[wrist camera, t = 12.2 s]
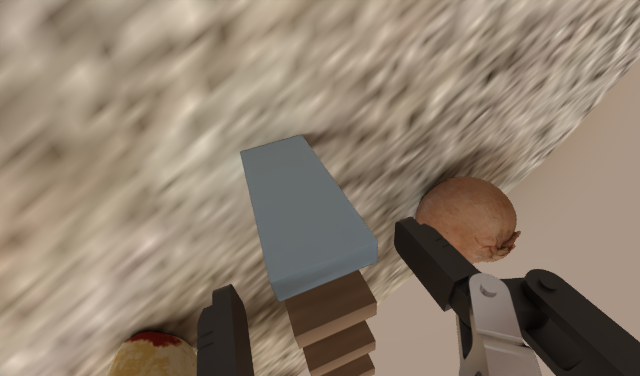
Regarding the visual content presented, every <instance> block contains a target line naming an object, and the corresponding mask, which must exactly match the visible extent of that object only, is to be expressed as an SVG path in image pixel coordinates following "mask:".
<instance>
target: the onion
mask: <svg viewBox="0 0 640 376" xmlns="http://www.w3.org/2000/svg"><path fill="white" fill-rule="evenodd" d="M420 200H421V202H420V203H419V207H418V209H417V212H416V217H415V220H416V221H417V222H418V223H419V224H420V225H421V224H424V223H425V224H427V225H429V226H431V227H433V228H435V229H436V230H437V231H438V232H439V233H440V234H441V235H442V236H443V237H444V239H446V240H447V241H448V242H449V243H450V244H451V245H453V246H454V247H455V248H456V249H457V250H458V251H459V252H460V253H461V254H462V255H463V256H464V257H465V258H466V259H467V260H468V261H469V262H470V263H471V264H473V263H477V262H490V261H491V262H494V261H497V260H499V259H502V258H504V257H505V256H507V254H508V253H510V251H511V250H512V249H514V247H515V246H514V245H513V244H514V242H515V240H516V238H517V237H519V234H520V233H521V232H520V231H518V232H514V231H515V228H516V220H517V219H516V213H515V210H514V208H513V205H512V203H511V202H510V200H509V199H508V197H507V196H506V195H505V194H504V193H503V192H502V191H501V190H500V189H499V188H497V187H496V186H494V185H493V184H491V183H489V182H486V181H484V180H481V179H477V178H473V177H454V178H450V179H447V180H446V181H444V182H442V183H440V184H439V185H437V186H436V187H434V188H433V189H432V190H430V191H428V193H427V194H425V195H424V196H423V197H422V199H420ZM513 246H514V247H513Z"/></svg>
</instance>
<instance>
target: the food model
mask: <svg viewBox="0 0 640 376" xmlns="http://www.w3.org/2000/svg"><path fill="white" fill-rule="evenodd" d="M106 376H197V356H196V354H195V352H194V350H193V349H192V347H191V346H190V345H189V344H188V343H186V342H185V341H184V340H182V339H180V338H179V337H176V336H172V335H169V334H164V333H159V332H150V331H148V332H143V333H138V334H137V335H135V336H133V337H132V338H129V339H127V340H126V341H125V342H124V343H123V344H122V345H121V347H120V348H119V350H118V352H117V353H116V355H115V357H114V359H113V361H112V363H111V365H110V367H109V369H108V371H107V374H106Z"/></svg>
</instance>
